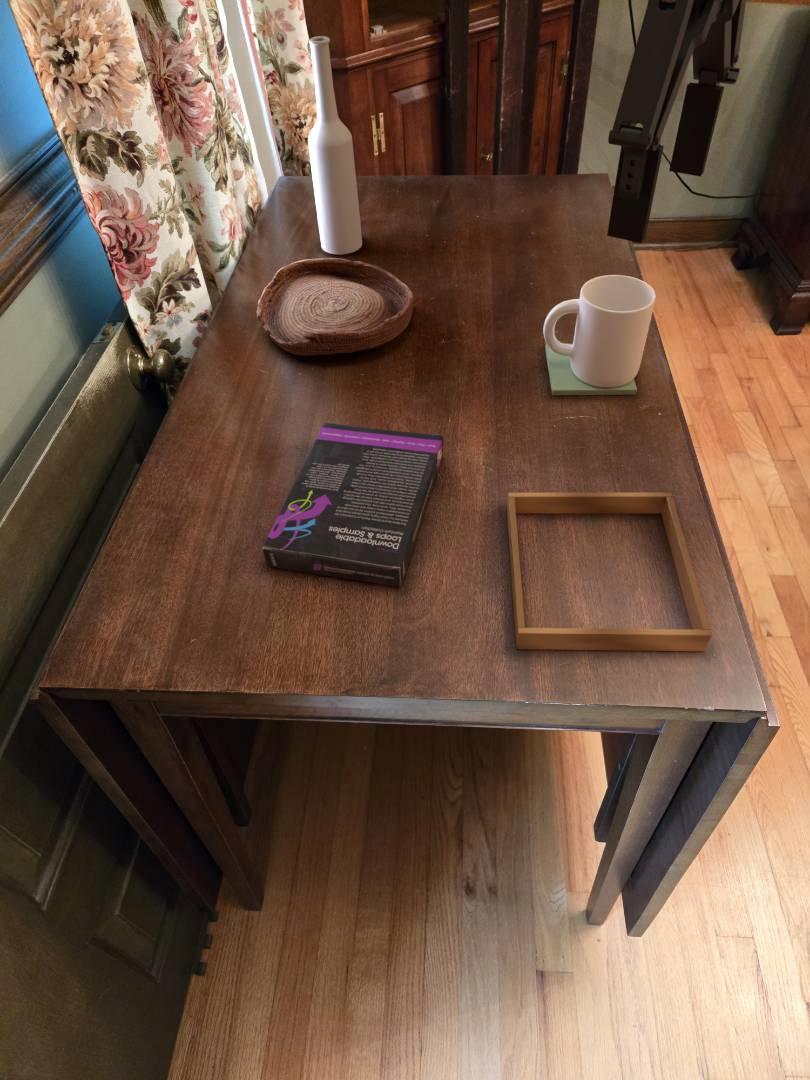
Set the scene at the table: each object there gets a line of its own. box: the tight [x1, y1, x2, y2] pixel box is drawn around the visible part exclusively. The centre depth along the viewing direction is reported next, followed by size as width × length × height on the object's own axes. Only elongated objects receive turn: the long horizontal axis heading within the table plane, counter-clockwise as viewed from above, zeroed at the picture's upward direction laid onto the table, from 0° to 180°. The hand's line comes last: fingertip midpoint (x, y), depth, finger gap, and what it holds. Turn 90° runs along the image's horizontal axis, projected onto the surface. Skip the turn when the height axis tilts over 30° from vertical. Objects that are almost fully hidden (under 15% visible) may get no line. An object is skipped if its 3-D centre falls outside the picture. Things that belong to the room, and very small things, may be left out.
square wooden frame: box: [506, 492, 713, 652], centre depth 68 cm, size 16×17×2 cm
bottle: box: [307, 35, 363, 256], centre depth 106 cm, size 7×7×28 cm
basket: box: [256, 257, 415, 357], centre depth 99 cm, size 22×20×5 cm
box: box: [261, 422, 444, 588], centre depth 75 cm, size 14×4×20 cm
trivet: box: [544, 342, 638, 396], centre depth 90 cm, size 10×10×1 cm
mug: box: [542, 274, 657, 388], centre depth 86 cm, size 12×8×10 cm
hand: (657, 203), depth 58 cm, fingers open, 13 cm apart
